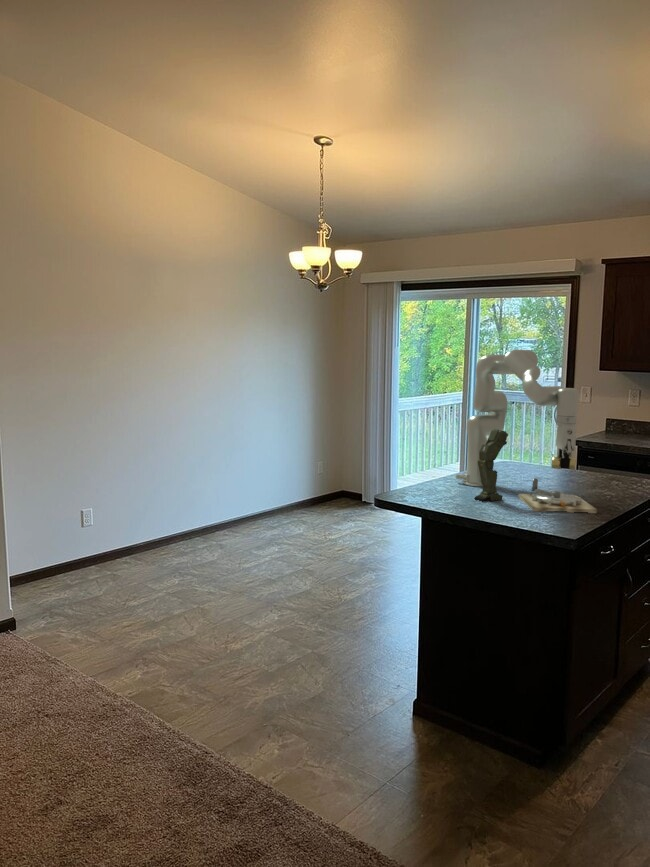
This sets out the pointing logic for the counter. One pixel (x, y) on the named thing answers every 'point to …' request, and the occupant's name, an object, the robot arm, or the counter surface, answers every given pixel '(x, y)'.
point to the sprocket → (553, 496)
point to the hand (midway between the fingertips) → (563, 466)
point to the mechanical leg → (490, 465)
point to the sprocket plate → (545, 507)
